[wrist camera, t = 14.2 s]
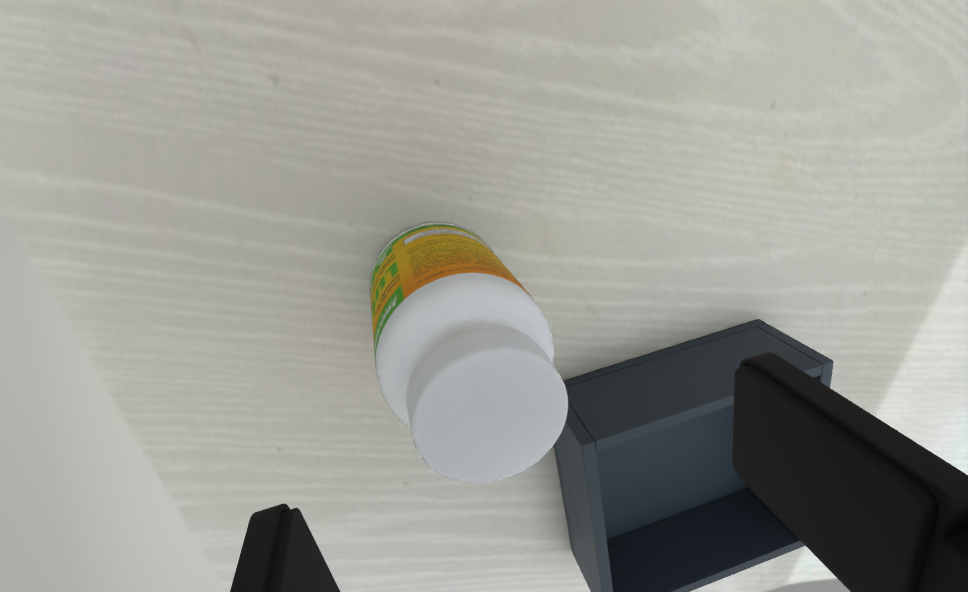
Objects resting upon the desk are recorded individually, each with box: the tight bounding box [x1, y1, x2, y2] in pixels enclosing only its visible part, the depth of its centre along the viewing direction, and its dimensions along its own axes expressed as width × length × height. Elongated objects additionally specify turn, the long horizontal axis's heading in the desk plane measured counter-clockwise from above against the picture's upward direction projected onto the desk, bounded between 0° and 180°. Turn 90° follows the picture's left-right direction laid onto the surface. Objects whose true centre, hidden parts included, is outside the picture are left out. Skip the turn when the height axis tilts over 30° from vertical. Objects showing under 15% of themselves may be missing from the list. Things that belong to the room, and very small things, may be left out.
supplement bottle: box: [371, 222, 568, 483], centre depth 16 cm, size 5×5×10 cm
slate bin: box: [554, 319, 833, 592], centre depth 25 cm, size 12×12×4 cm
